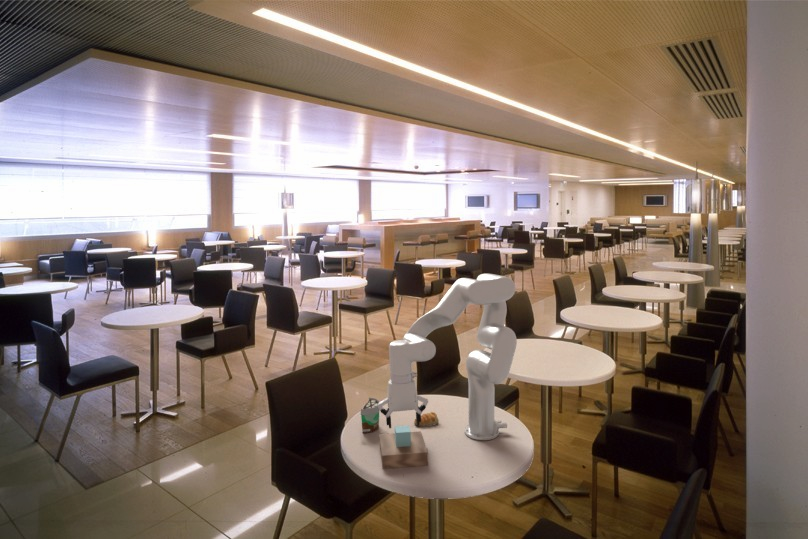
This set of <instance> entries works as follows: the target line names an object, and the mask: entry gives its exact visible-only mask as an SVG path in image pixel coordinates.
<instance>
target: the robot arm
mask: <svg viewBox="0 0 808 539" xmlns="http://www.w3.org/2000/svg"><path fill="white" fill-rule="evenodd" d="M515 293H516V284H515V282H514V281H513V279H512V278H511V277H509V276H504V275H499V274H494V273H485V272H484V273H481V274H479V275H478V276H477V277H476V279H474V278H469V277H461V278H458V279H456V281H454V283H453V284H452V285H451V287H450V288H449V289H448V291H446V293H445V295H444V296H443V297H442V298H441V300H440V301H439V302H438V304H437V305H435V307H434V308H433V309H431V310H429V311H428V312H426V313H425V314H424V315H422V316H420V317H419V318H418V319H417V320H416V321H414V322H413V324H412V325H411V326H410V327H409V329H408V330H407V331H406V333H405V334H404V336H403V338H402V339H398V340H397V339H395V340H392V341H391V342H390V343H389V344H388V360H389V361H388V362H389V375H390V376H389V377H390V378H389V379H388V382H387V390H386V391H387V395H386V396H387V397H386V398H384V399H383V400H381V401H379V403H378V404H377V406H378V408H379V410H380V411H379V412H380V413H381V414H382V415H383V416H385V417H386V420H385V422H386V426H388V428H389V429H392V421H391V420H392V418H391V415H392V413H393V412H406V411H413V410H414V411H415V419H416V423H417V425H418V426H417V425H416V426H417V427H420V426H419V422H421V416H422V415H423V414H422V413H423V411H425V410H426V408H427V406H428V404H429V400H428V398H425V397H423V396H421V395H418V391H417V390H418V389H417V383H416V379H415V378H416V377H418V374H417V372H414V371H413V363H414V362H415V363H416V362H418V363H419V362H427V361H429V360H432V359H433V358H434V357H435V356H436V352H437V351H436V350H437V347H436V345H435V344H434V342H433V341H431V340H429V339H428V338H427V337H428V335H430V334H431V333H432V332H434V330H437V329H440V328H443V327H448V326H451V325H452V324H455V323H456V322H457V321H458V319H459V317H460V316H461V315H462V313H464V311H465V310H466V308H467V307H468V305H470V304H471V305H474V306H483V311H482V313H481V314H482V315H481V319H480V322H479V325H478V330H477V335H476V341H477V342H478V344H479V345H481V346H482V347H484V348H487V349H488V350H491V352H488V351H486V350H484V349H473V350H472V351H470V352H469V353H468V355H467V356H466V360H465V368H466V374H467V375H466V376H467V379H468V380H467V382H468V383H467V384H468V424H467V425H466V426H465V427H464V433H465V435H466V436H467V437H468V438H470V439H473V440H476V441H477V440H478V441H489V440H493V439H495V438H497V437H498V436H499V430H500V429H507V428H508V423H507V422H503V421H502V420H497V421H496V420H495V389H496V388H495V385H500V384H503V382H505V381H506V379H507V378H508V376H509V374H510V371H511V367H512V363H513V360H514V356H515V352H516V349H517V342H518V340H517V336H516V333H515V331H514V330H513V329H512V328H510V327H508V326H505V322H506V317H507V313H508V312H507V311H508V309H507V303H506V301H508V300H510V299H511V298H512V297H513V296H514V295H515ZM419 401H420V402H422V404H421V405H419ZM385 405H387V408H386V409H385V408H384V406H385Z"/></svg>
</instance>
